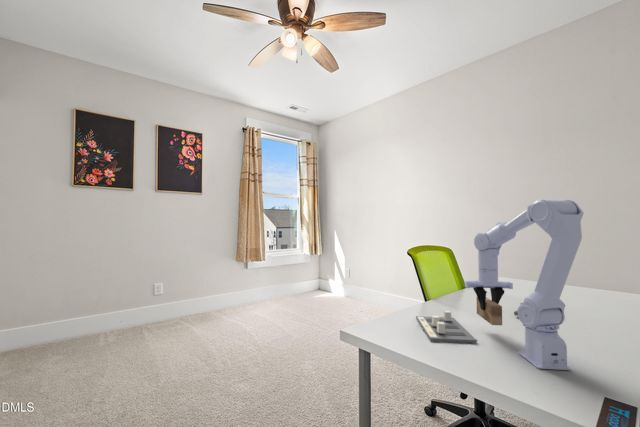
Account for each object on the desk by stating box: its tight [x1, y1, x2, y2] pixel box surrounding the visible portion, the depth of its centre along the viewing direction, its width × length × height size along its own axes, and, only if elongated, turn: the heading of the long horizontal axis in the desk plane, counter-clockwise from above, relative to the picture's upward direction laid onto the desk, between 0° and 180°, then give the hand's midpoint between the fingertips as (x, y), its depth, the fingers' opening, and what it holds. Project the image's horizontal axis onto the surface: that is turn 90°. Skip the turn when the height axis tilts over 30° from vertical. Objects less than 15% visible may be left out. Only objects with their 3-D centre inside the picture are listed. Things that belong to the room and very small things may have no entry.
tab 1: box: [431, 315, 440, 326], centre depth 105 cm, size 2×2×3 cm
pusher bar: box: [476, 296, 503, 326], centre depth 100 cm, size 12×3×6 cm, turn 173°
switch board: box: [415, 315, 478, 344], centre depth 105 cm, size 22×14×1 cm, turn 173°
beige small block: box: [437, 322, 445, 334], centre depth 99 cm, size 2×2×3 cm
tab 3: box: [443, 310, 452, 321], centre depth 111 cm, size 2×2×3 cm
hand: (488, 309), depth 100 cm, fingers closed on pusher bar, 3 cm apart
